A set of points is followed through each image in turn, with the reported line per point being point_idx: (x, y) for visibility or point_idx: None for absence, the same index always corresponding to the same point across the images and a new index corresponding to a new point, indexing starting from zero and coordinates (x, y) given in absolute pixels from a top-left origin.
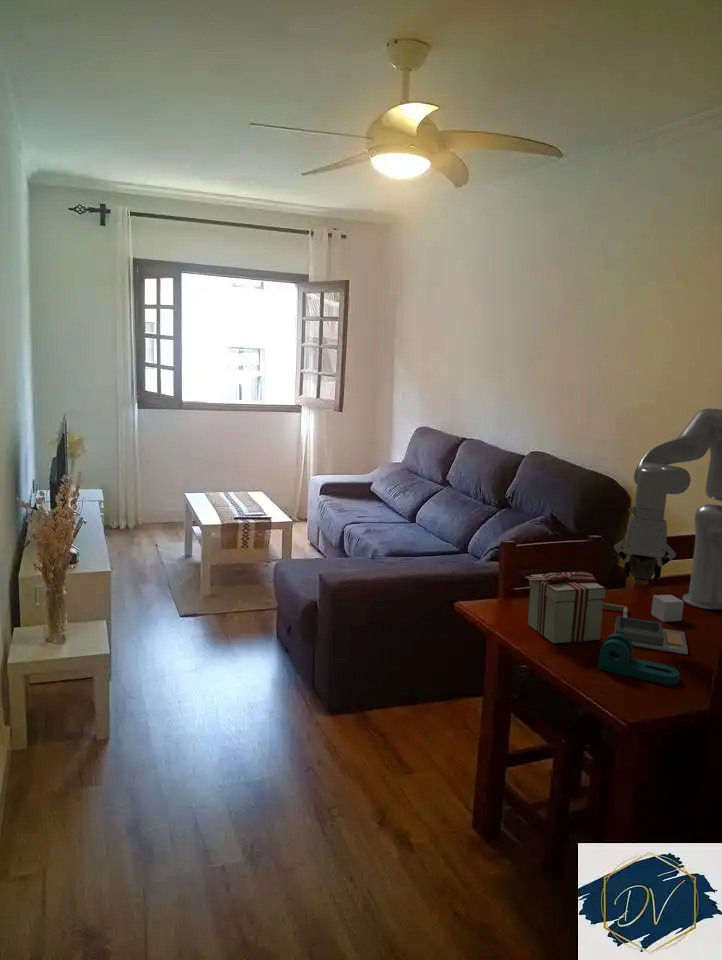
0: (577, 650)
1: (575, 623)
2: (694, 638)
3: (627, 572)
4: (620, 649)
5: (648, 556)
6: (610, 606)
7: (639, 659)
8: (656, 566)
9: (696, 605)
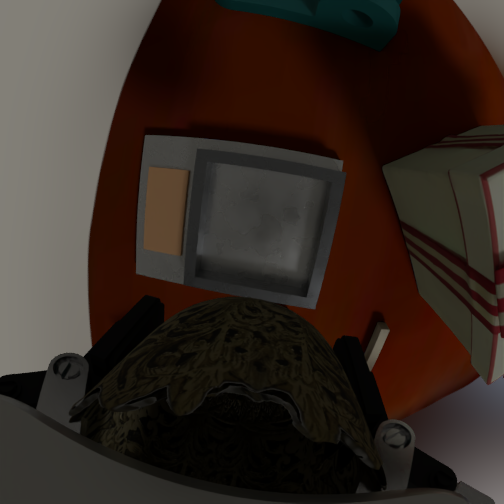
0: (435, 95)
1: (474, 137)
2: (120, 256)
3: (359, 355)
4: None
5: (141, 466)
6: None
7: (296, 10)
8: None
9: None
